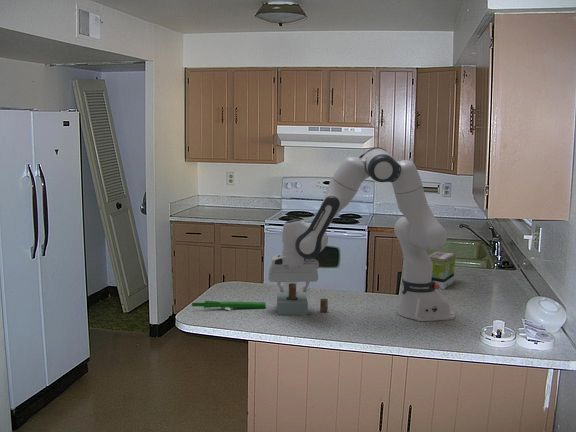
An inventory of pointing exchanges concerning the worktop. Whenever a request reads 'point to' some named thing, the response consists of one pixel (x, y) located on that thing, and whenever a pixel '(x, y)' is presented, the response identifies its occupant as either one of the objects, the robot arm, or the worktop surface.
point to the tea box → (442, 268)
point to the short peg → (323, 305)
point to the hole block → (292, 305)
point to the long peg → (292, 291)
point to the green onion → (231, 304)
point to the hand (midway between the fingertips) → (293, 291)
